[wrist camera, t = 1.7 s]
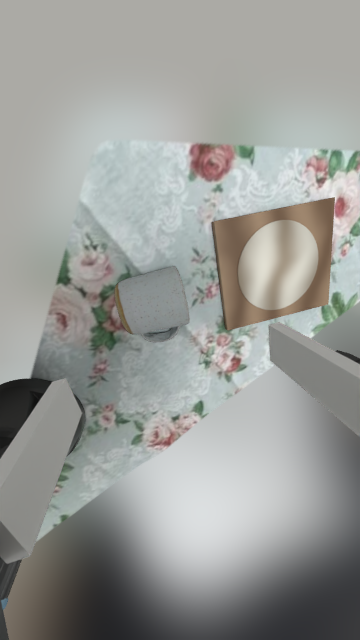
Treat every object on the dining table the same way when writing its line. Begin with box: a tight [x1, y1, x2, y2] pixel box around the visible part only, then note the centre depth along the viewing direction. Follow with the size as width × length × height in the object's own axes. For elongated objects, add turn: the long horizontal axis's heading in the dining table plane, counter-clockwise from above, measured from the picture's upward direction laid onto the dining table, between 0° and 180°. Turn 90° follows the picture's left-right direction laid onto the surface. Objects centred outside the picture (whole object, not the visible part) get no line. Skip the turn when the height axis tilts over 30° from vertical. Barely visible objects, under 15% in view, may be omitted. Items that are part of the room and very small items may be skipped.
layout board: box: [212, 197, 335, 330], centre depth 31 cm, size 18×16×1 cm
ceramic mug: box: [114, 266, 189, 342], centre depth 27 cm, size 11×8×8 cm
